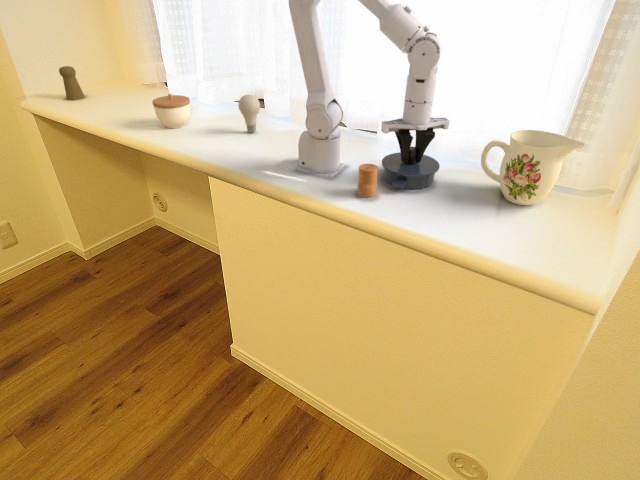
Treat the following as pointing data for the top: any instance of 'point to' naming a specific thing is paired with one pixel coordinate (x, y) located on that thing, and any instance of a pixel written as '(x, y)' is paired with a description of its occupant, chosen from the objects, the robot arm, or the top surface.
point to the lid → (410, 164)
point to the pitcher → (529, 164)
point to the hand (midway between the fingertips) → (410, 161)
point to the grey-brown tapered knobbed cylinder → (71, 83)
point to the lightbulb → (249, 111)
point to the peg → (367, 180)
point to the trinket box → (172, 110)
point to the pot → (408, 181)
